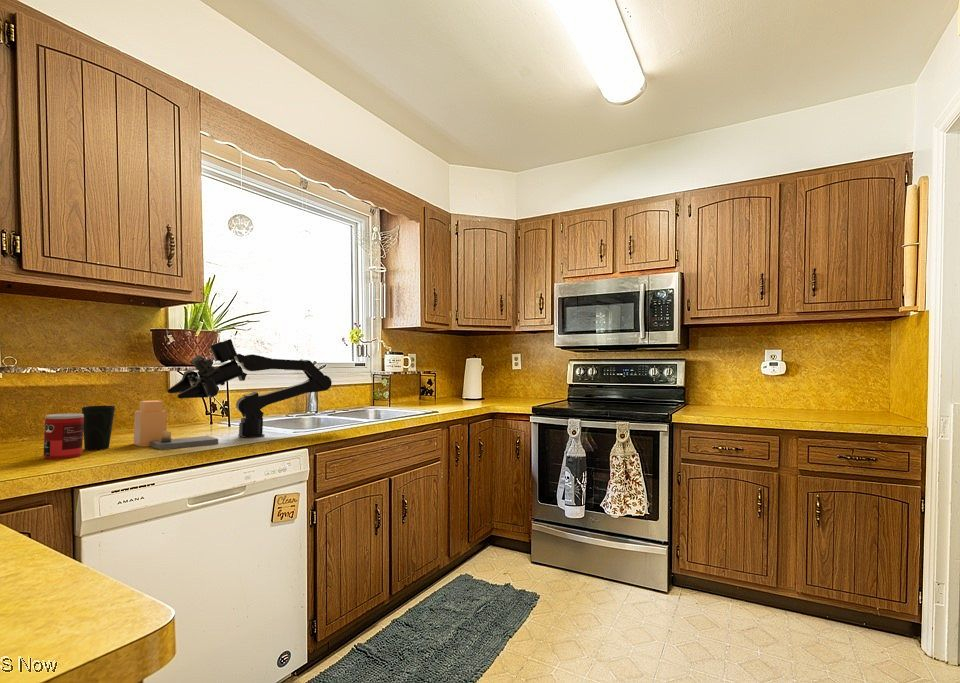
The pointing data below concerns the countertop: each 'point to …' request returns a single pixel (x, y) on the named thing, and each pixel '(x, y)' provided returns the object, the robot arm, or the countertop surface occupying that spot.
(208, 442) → the board
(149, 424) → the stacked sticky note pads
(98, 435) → the cup
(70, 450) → the canned food
